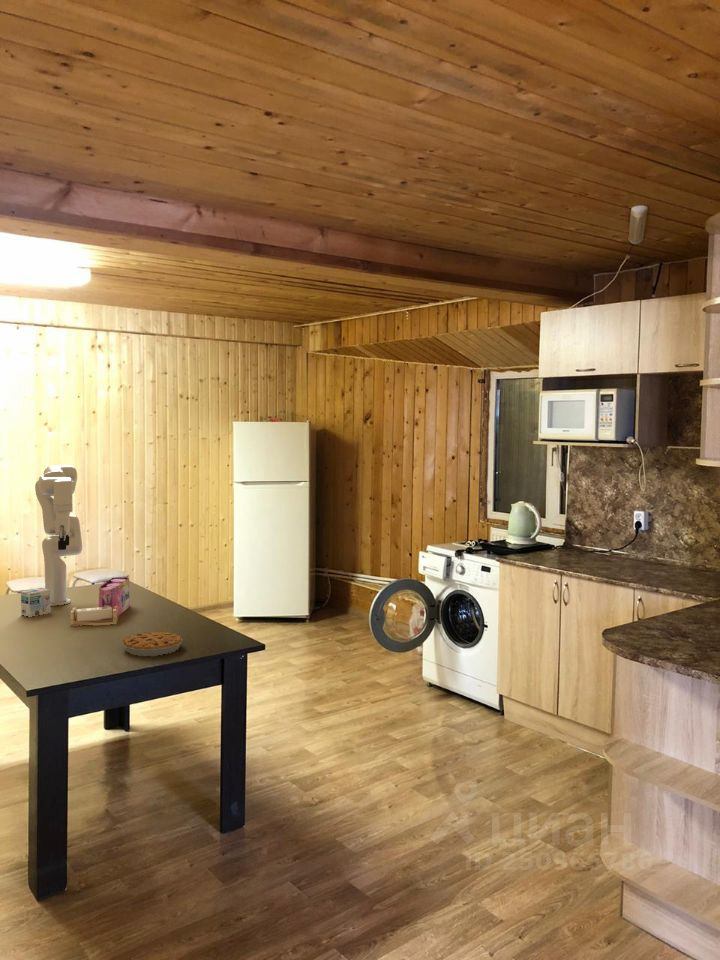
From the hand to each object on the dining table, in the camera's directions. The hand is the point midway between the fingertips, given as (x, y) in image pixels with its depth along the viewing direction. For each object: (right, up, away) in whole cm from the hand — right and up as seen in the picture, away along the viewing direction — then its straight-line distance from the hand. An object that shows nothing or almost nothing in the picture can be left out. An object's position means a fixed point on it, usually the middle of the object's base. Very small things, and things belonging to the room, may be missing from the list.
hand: (63, 547), depth 341 cm
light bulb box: (-15, -30, +8) cm, 35 cm away
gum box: (+18, -30, +14) cm, 38 cm away
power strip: (+15, -29, -6) cm, 34 cm away
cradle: (+15, -31, -6) cm, 36 cm away
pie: (+50, -35, -44) cm, 75 cm away
